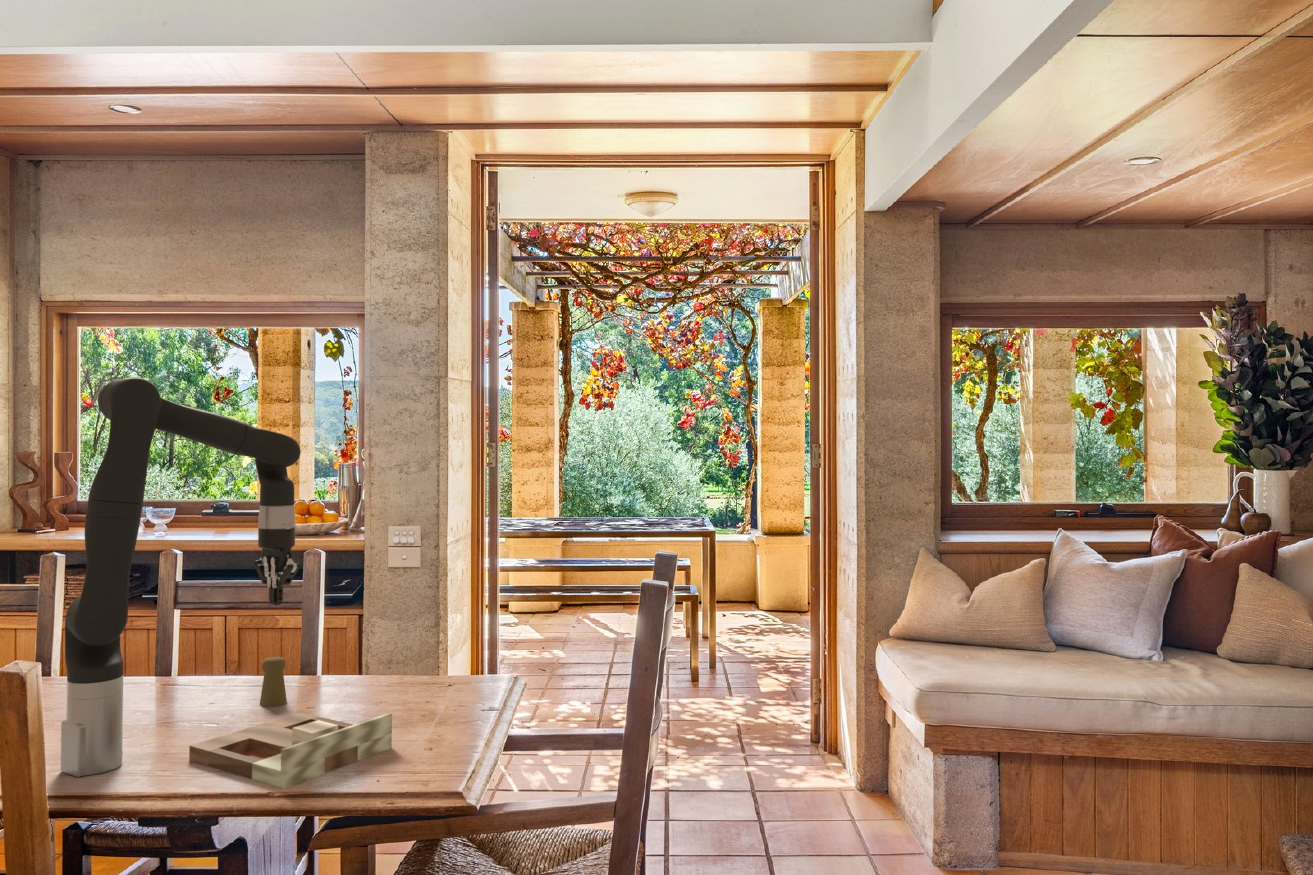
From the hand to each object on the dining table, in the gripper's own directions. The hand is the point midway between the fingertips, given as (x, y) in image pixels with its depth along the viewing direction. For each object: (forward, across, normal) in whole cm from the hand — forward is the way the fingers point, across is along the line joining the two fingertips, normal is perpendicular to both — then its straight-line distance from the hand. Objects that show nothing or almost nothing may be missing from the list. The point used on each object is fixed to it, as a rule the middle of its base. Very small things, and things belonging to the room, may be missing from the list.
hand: (275, 604), depth 200 cm
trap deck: (+27, +18, -10) cm, 34 cm away
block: (+24, +26, -10) cm, 37 cm away
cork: (+27, -16, +12) cm, 34 cm away
